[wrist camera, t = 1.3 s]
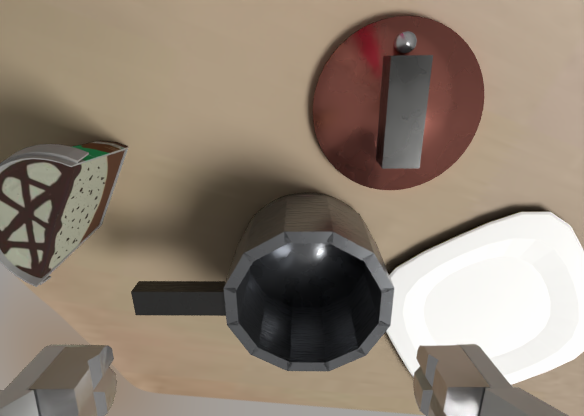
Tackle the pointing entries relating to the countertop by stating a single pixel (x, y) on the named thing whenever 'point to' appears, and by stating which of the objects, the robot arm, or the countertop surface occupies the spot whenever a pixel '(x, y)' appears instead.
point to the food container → (53, 203)
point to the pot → (293, 286)
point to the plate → (496, 295)
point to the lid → (398, 102)
